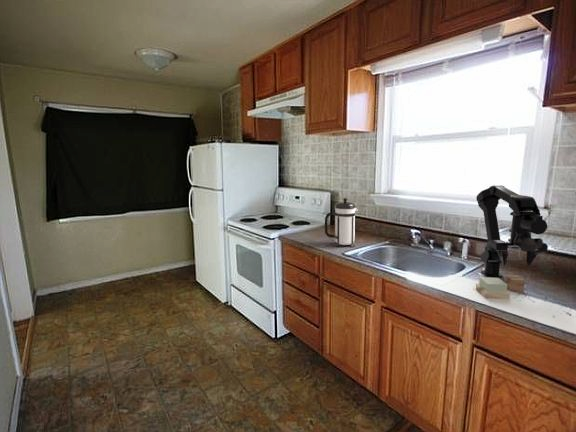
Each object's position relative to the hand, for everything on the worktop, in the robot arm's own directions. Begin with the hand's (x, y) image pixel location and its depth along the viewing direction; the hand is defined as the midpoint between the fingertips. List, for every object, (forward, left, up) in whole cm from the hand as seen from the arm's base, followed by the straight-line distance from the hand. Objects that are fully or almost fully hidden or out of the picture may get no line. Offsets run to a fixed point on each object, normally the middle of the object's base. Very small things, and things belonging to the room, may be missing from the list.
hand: (515, 265), depth 129 cm
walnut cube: (0, 0, -10) cm, 10 cm away
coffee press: (-63, -67, -10) cm, 92 cm away
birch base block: (+6, -11, -11) cm, 16 cm away
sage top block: (+6, -11, -7) cm, 15 cm away
